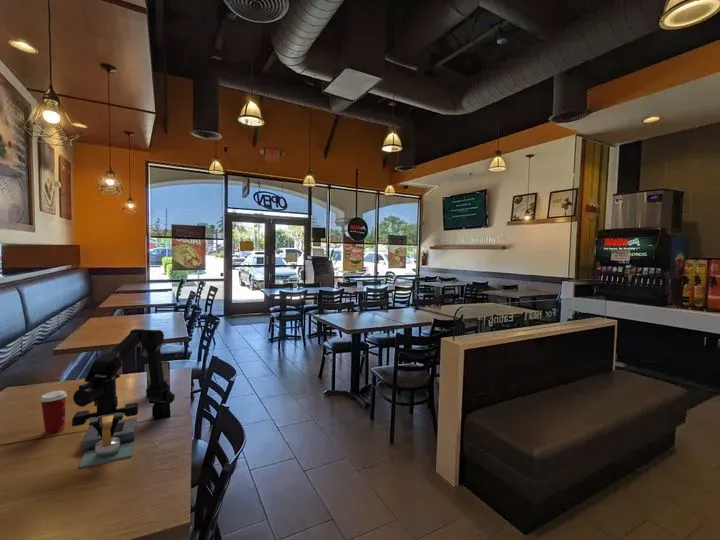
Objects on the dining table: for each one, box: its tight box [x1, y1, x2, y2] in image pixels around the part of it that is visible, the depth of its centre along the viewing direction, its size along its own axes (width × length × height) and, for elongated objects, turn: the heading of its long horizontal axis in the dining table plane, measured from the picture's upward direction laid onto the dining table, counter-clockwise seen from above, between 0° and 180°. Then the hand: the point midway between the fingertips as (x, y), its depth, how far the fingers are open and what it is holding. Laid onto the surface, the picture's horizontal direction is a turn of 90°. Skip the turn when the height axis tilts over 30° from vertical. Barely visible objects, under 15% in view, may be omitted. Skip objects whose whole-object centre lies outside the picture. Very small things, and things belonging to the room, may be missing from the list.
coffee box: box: [145, 360, 171, 390], centre depth 181 cm, size 9×6×16 cm
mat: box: [78, 441, 135, 469], centre depth 127 cm, size 15×10×1 cm, turn 118°
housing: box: [81, 417, 138, 454], centre depth 138 cm, size 16×13×4 cm
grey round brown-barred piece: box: [95, 422, 120, 457], centre depth 127 cm, size 7×7×9 cm
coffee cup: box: [39, 390, 68, 435], centre depth 144 cm, size 8×8×15 cm
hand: (107, 437), depth 127 cm, fingers closed on grey round brown-barred piece, 2 cm apart
